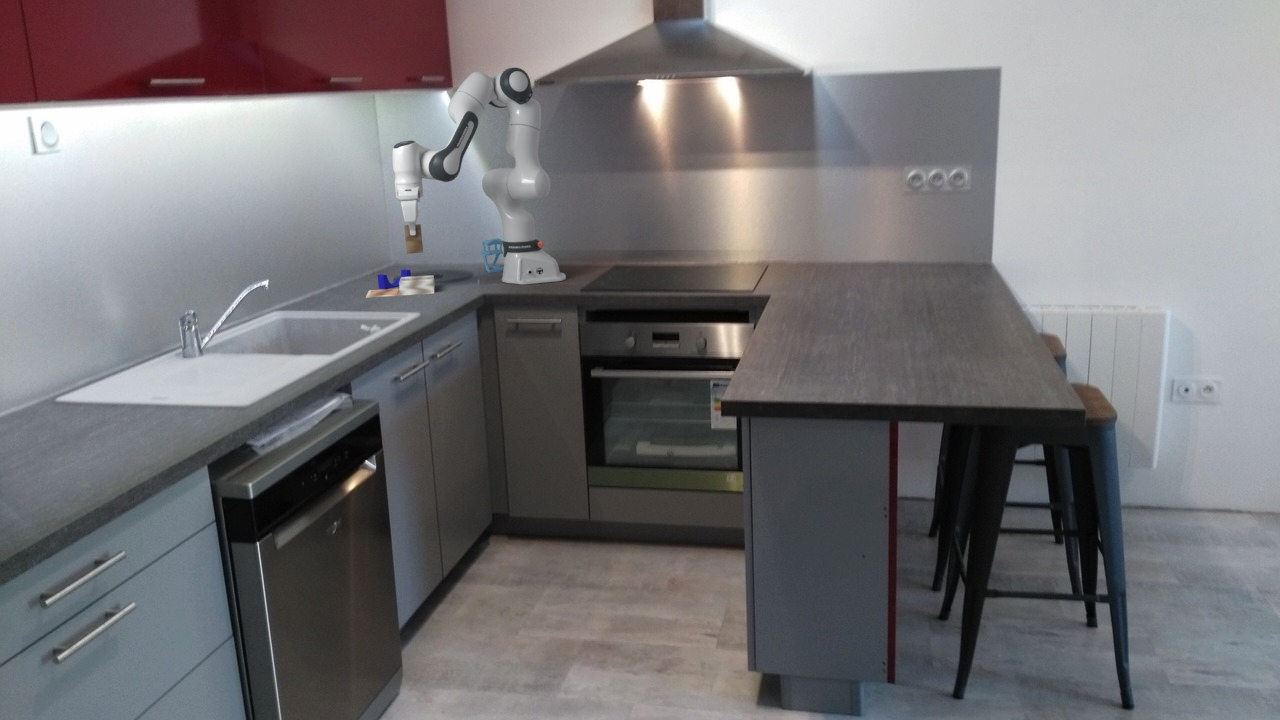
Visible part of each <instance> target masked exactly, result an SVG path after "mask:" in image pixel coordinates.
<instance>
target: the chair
mask: <svg viewBox="0 0 1280 720" xmlns="http://www.w3.org/2000/svg"><path fill="white" fill-rule="evenodd" d="M502 244H503V240H502V239H501V238H492V239H484V240H482V242H481V245H482V247H483V248H482V249H483V250H482V251H481V252H480V253H481V255H482V257H483V261H484V264H485V265H484V266H485V270H486V272H487V273H497V272H503V270H504V266H496V264H497V261H498V259H499V256H500V255H503V248H502ZM485 245H486V246H485ZM493 245H494V249H491V246H493ZM497 245H499V249H498V247H497ZM486 247H487V250H486ZM492 255H495V258H494V260H493V263H492V265H491V269H490V267H489V264H488V259H487V256H492Z"/></svg>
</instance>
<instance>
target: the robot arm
mask: <svg viewBox="0 0 1280 720" xmlns="http://www.w3.org/2000/svg"><path fill="white" fill-rule="evenodd" d="M533 94H534V93H533V89H532V83H531V79H530V77H529V75H528V73H527V71H525V70H524V69H522V68H520V67H509V68H506V69H505V70H503V71H501V72H499V73H497V74H496V75H495V76H493V77H491V76H489V75H488V74H487V73H484V72H482V71H473V72H472V73H470V74H469V75H468V76H467V77H466V78H465V79H464V80H463V82H462V83H461V84H460V85H459V86H458V88H457V90H456V91H455V93H453V95H452V97H451V99H450V102H449V104H448V107H447V111H448V115H449V118H450V120H451V121H452V122H453V123H454V124H456V125H455V129H454V131H453V133H452V135H451V137H450V139H449V140H448V142H447V145H446V146H445V147H443V148H441V149H438V150H437V149H431V148H427V147H424V146H423V145H420V144H419V143H418V142H416V141H415V140H404V141H400V142H398V143H396V144H394V146H393V148H392V154H391V155H392V156H391V157H392V171H393V173H394V190H395V191H394V192H395V193H394V194H395V198H396V199H398V201H400V202H399V203H400V206H401V211H402V215H403V221H404V223H405V224H406V225H409V229H410V235H416V230H415V225H417V221H418V218H419V208H418V207H419V206H418V203H420V202H421V198H423V197H424V189H423V179H425V180H434V181H438V182H439V181H440V182H444V183H445V182H446V183H449V182H452V181H454V180H455V179H457V177H458V176H459V174H460V171H461V169H462V164H463V163H462V162H463V159H464V157H465V155H466V152H467V151H468V148H469V146H470V144H471V142H472V140H473V139H474V135H475V133H476V132H477V129H478V126H479V120H480V118H481V116H482V114H483V113H484V111H486V108H487V106H488V105H490V106H492V107H494V108H499V109H503V108H507V109H508V112H509V121H508V126H507V132H506V133H507V134H506V139H505V149H506V152H507V153H508V155H510V156H511V157H513V158H514V161H515V166H514V167H499V168H494V169H490V170H487V171H486V172H485V173H484V175H483V177H482V180H481V181H482V182H481V187H482V190H483V193H484V194H485V195H486V197H488V198H489V199H490V200H491V201H492V202H493V203H494V205H495V207H496V208H497V211H498V213H499V216H500V219H501V225H502V226H501V227H502V235H503V240H502V242H503V243H502V251H503V254H502V255H503V258H504V259H503V260H504V261H503V267H504V270H503V271H502V277H501V282H503V283H507V284H516V285H517V284H518V285H530V284H531V285H532V284H540V283H541V284H542V283H551V282H553V283H554V282H562V281H565V280H566V279H567V276H566V274H565V273H564V272H560V267H559V264H558V262H557V259H555V258H554V257H552V255H550V254H548V253H547V252H545V251H544V250H543V249H542V248H543V247H544V242H543V241H542V240H539V239H536V229H535V228H536V227H535V219H534V218H535V217H534V216H533V214H532V213H531V212H529V211H528V210H527V209H525V207H524V206H523V204H522V202H521V201H537V200H541V199H544V198H546V197H547V196H548V194H549V193H550V189H551V179H550V175H549V174H548V173H547V172H546V171H545V170H544V169H543V167H542V165H541V163H540V159H539V143H540V142H539V141H540V137H541V136H540V135H541V128H542V127H541V126H542V107H541V104H540V102H539V101H538V100H536V99H535V98H533Z"/></svg>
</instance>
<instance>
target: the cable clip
mask: <svg viewBox="0 0 1280 720" xmlns="http://www.w3.org/2000/svg"><path fill="white" fill-rule="evenodd" d="M400 271H401V273H400V277H398V278H396V279H395V280H394V281H393V283H392V282H390V281H389V278H388V275H387V274H382V273H381V274H377V283H378V290H383V289H395V288H398V287H399V281H400V278H401V277H412V274H411V269H406V268H405V269H401V270H400Z"/></svg>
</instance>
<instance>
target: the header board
mask: <svg viewBox="0 0 1280 720" xmlns="http://www.w3.org/2000/svg"><path fill="white" fill-rule="evenodd" d="M400 277H401V276H400ZM400 277H399V278H400ZM435 288H436V287H435V275H433V274H432V275H417V276H411V277H401V278H400V281H399V288H390V289H389V288H386V289H371V290H370V289H369V290H368V291H367V294H366V296H365V298H366V299H367V298H380V297H398V296H413V295H430V294H435V290H436V289H435Z"/></svg>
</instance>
